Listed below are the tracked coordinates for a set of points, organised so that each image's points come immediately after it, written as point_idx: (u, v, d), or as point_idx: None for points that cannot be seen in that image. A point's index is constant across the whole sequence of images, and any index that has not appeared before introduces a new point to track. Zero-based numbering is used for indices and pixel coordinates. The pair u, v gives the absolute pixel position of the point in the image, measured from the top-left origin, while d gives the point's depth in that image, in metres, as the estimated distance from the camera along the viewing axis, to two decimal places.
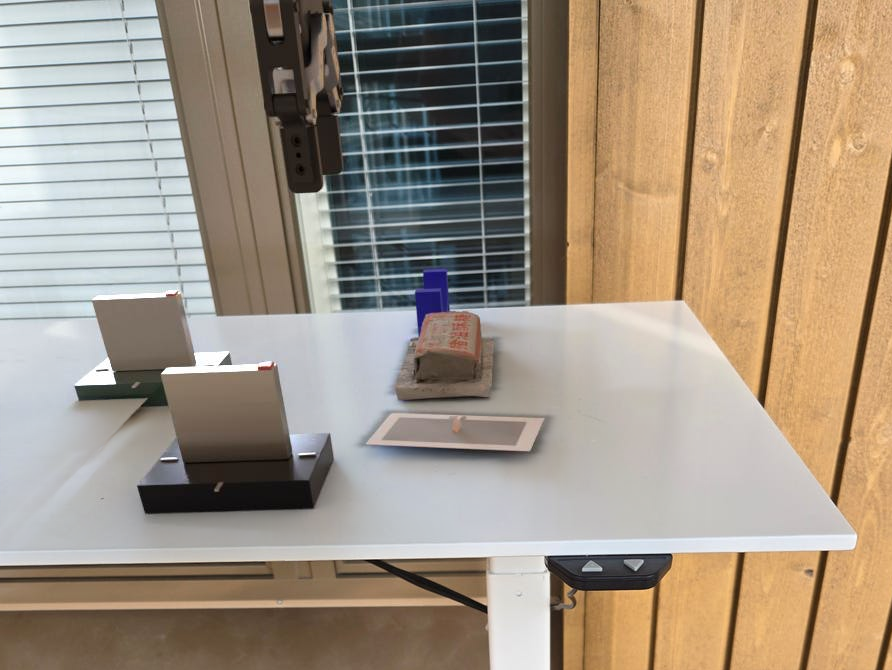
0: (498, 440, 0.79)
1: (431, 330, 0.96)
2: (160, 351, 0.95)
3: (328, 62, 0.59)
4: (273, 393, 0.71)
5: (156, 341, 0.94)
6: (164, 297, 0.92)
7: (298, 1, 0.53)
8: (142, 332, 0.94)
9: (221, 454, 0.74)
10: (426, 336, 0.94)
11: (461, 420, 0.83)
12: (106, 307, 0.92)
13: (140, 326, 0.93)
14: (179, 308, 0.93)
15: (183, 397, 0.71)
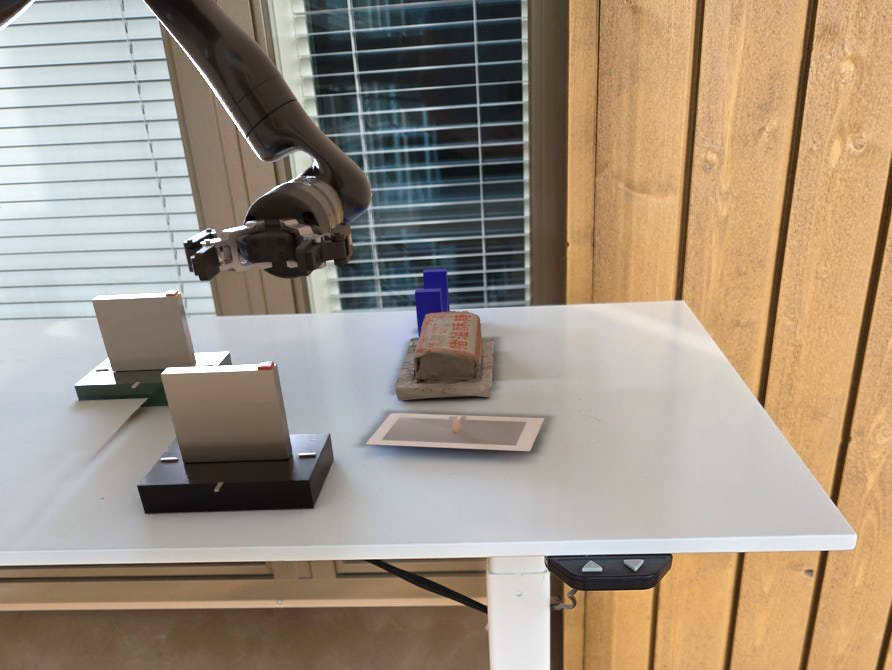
0: (498, 439, 0.79)
1: (432, 330, 0.96)
2: (160, 351, 0.95)
3: (251, 265, 0.80)
4: (273, 393, 0.71)
5: (156, 341, 0.94)
6: (164, 297, 0.92)
7: None
8: (142, 332, 0.94)
9: (221, 454, 0.74)
10: (426, 336, 0.94)
11: (461, 420, 0.83)
12: (106, 307, 0.92)
13: (140, 326, 0.93)
14: (179, 308, 0.93)
15: (183, 397, 0.71)
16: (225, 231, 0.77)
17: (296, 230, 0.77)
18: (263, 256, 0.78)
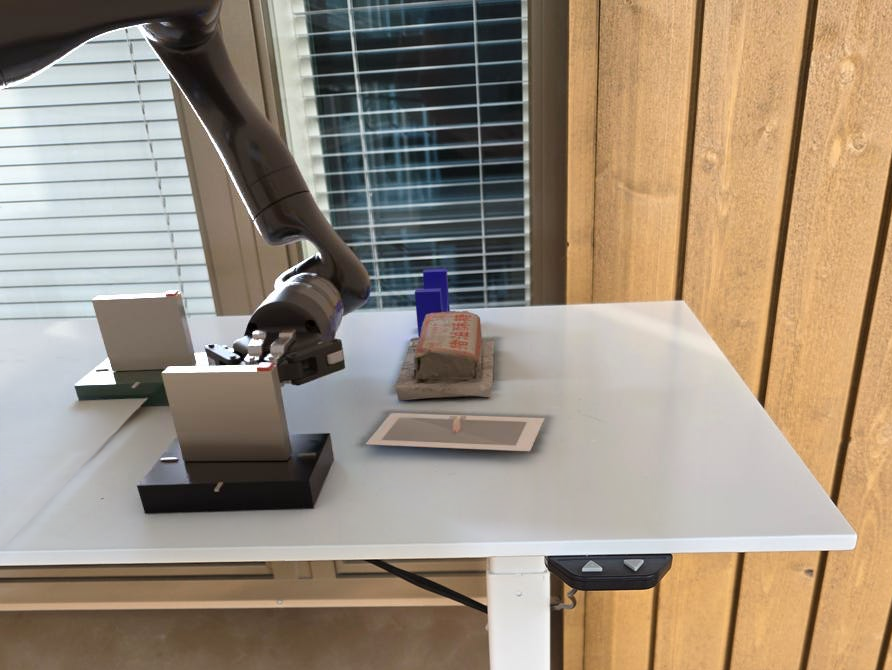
0: (498, 439, 0.79)
1: (432, 330, 0.96)
2: (160, 351, 0.95)
3: None
4: (271, 395, 0.70)
5: (156, 341, 0.94)
6: (164, 297, 0.92)
7: None
8: (142, 332, 0.94)
9: (220, 454, 0.74)
10: (426, 336, 0.94)
11: (461, 420, 0.83)
12: (106, 307, 0.92)
13: (140, 326, 0.93)
14: (179, 308, 0.93)
15: (183, 396, 0.71)
16: (253, 346, 0.76)
17: None
18: None
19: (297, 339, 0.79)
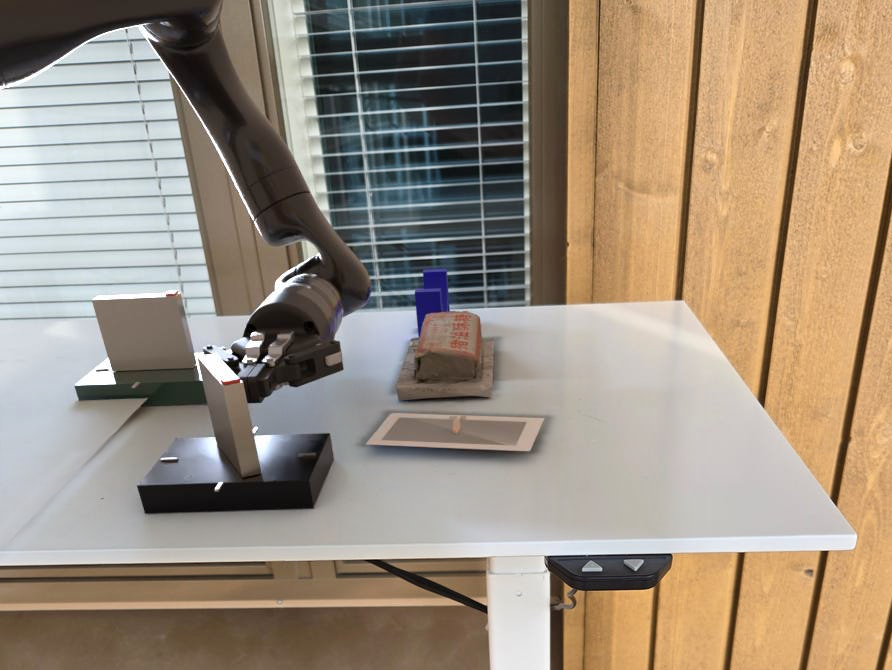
0: (498, 439, 0.79)
1: (432, 330, 0.96)
2: (160, 351, 0.95)
3: None
4: (226, 409, 0.68)
5: (156, 341, 0.94)
6: (164, 297, 0.92)
7: None
8: (142, 332, 0.94)
9: (223, 448, 0.75)
10: (426, 336, 0.94)
11: (461, 420, 0.83)
12: (106, 307, 0.92)
13: (140, 326, 0.93)
14: (179, 308, 0.93)
15: (205, 384, 0.73)
16: (251, 347, 0.76)
17: None
18: None
19: (295, 340, 0.79)
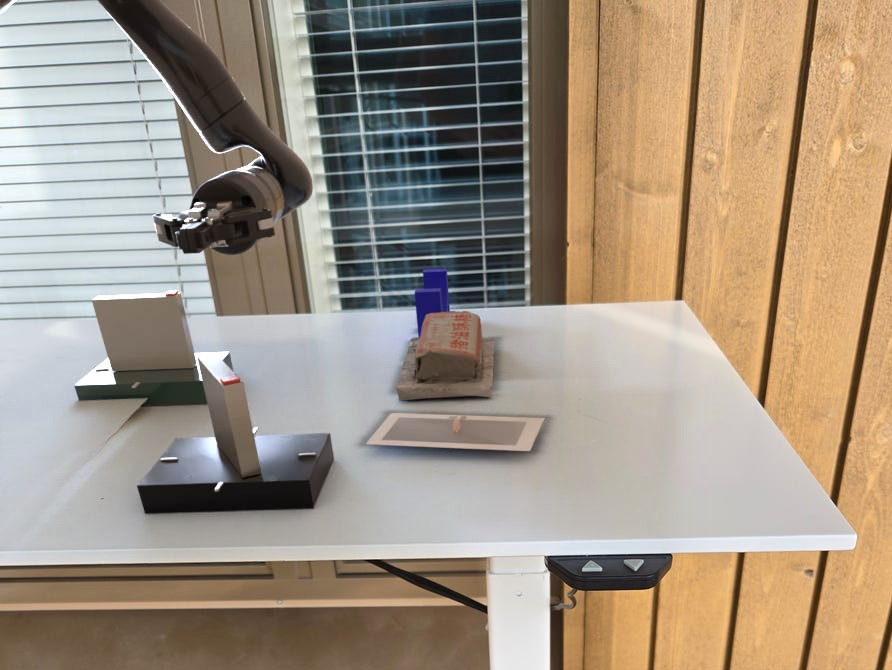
0: (498, 439, 0.79)
1: (432, 330, 0.96)
2: (160, 351, 0.95)
3: None
4: (226, 409, 0.68)
5: (156, 341, 0.94)
6: (164, 297, 0.92)
7: None
8: (142, 332, 0.94)
9: (223, 448, 0.75)
10: (427, 336, 0.94)
11: (461, 420, 0.83)
12: (106, 307, 0.92)
13: (140, 326, 0.93)
14: (179, 308, 0.93)
15: (205, 384, 0.73)
16: (193, 211, 0.88)
17: None
18: None
19: (233, 210, 0.91)
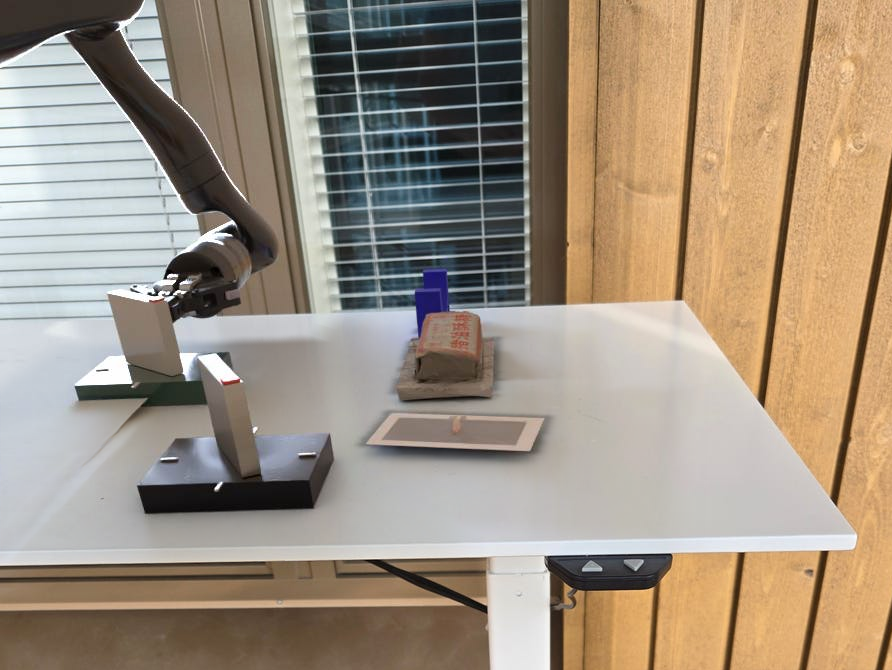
0: (498, 439, 0.79)
1: (432, 330, 0.96)
2: (150, 353, 0.94)
3: None
4: (226, 409, 0.68)
5: (147, 343, 0.94)
6: (147, 302, 0.90)
7: None
8: (138, 332, 0.94)
9: (223, 448, 0.75)
10: (427, 336, 0.94)
11: (461, 420, 0.83)
12: (115, 301, 0.94)
13: (136, 326, 0.94)
14: (158, 315, 0.90)
15: (205, 384, 0.73)
16: (165, 285, 0.98)
17: None
18: None
19: (203, 281, 1.01)
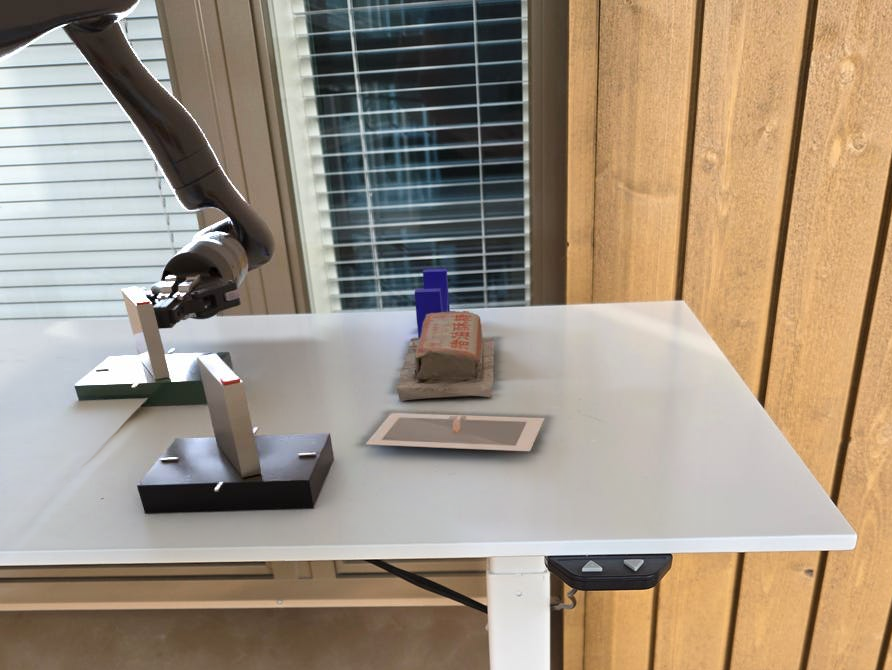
0: (498, 439, 0.79)
1: (432, 330, 0.96)
2: (145, 354, 0.94)
3: None
4: (226, 409, 0.68)
5: (142, 343, 0.94)
6: (134, 304, 0.90)
7: None
8: (137, 331, 0.94)
9: (223, 448, 0.75)
10: (427, 336, 0.94)
11: (461, 420, 0.83)
12: (125, 299, 0.95)
13: (135, 325, 0.94)
14: (141, 318, 0.90)
15: (205, 384, 0.73)
16: (164, 286, 0.97)
17: None
18: None
19: (201, 282, 1.00)
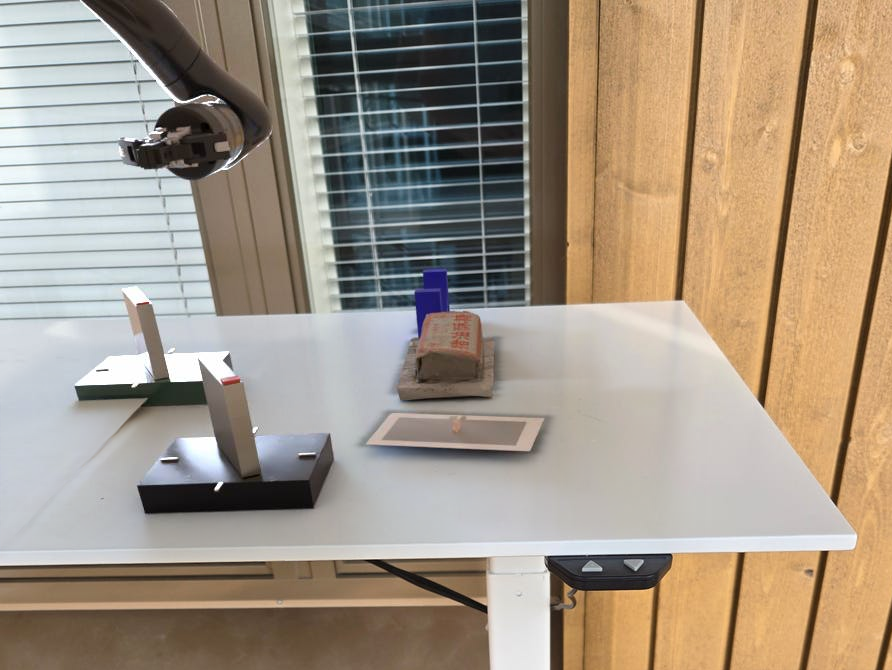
0: (498, 439, 0.79)
1: (432, 330, 0.96)
2: (144, 354, 0.94)
3: None
4: (226, 409, 0.68)
5: (141, 343, 0.94)
6: (134, 304, 0.90)
7: None
8: (137, 331, 0.94)
9: (223, 448, 0.75)
10: (427, 336, 0.94)
11: (461, 420, 0.83)
12: (125, 298, 0.95)
13: (135, 325, 0.94)
14: (141, 318, 0.90)
15: (205, 384, 0.73)
16: (153, 133, 0.96)
17: None
18: None
19: (192, 134, 0.99)
